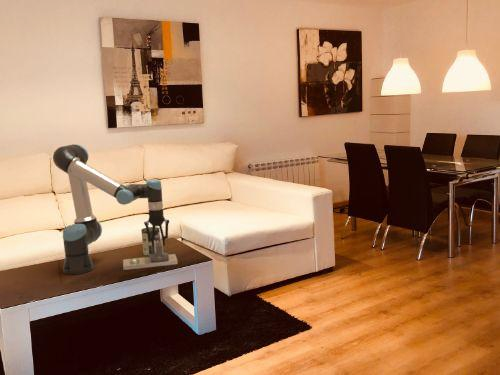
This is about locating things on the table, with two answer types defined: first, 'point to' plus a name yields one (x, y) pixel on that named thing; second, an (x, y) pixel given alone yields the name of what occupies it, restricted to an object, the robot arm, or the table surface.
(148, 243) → the coffee can
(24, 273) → the table surface
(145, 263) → the base plate
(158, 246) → the wing knob
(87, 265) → the robot arm
